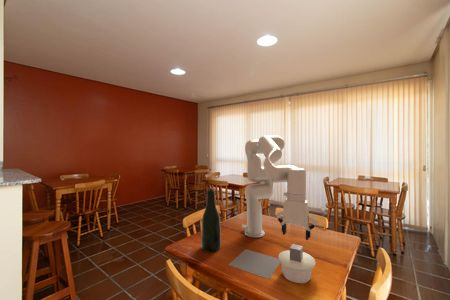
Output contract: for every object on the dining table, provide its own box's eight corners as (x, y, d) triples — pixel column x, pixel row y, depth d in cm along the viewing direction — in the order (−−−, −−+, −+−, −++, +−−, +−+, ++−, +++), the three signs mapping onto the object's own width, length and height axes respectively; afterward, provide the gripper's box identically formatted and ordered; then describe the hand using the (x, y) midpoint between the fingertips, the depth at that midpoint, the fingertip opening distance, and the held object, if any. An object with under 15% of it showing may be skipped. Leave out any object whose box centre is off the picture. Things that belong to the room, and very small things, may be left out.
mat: (228, 265, 100) (228, 265, 100) (245, 249, 116) (245, 249, 116) (268, 279, 90) (268, 278, 90) (282, 260, 105) (282, 259, 105)
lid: (273, 263, 90) (273, 250, 90) (283, 248, 102) (283, 236, 102) (311, 274, 82) (311, 259, 82) (317, 257, 95) (317, 244, 95)
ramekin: (317, 275, 93) (317, 259, 93) (305, 290, 83) (305, 273, 83) (288, 264, 102) (288, 249, 102) (274, 277, 92) (274, 260, 92)
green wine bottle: (198, 251, 114) (198, 189, 114) (205, 242, 125) (205, 186, 124) (217, 254, 112) (217, 190, 111) (223, 245, 122) (222, 186, 121)
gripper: (273, 196, 93) (273, 234, 94) (316, 202, 84) (315, 245, 85) (279, 192, 100) (278, 228, 100) (319, 197, 90) (318, 237, 91)
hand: (295, 236), depth 93 cm, fingers open, 9 cm apart
